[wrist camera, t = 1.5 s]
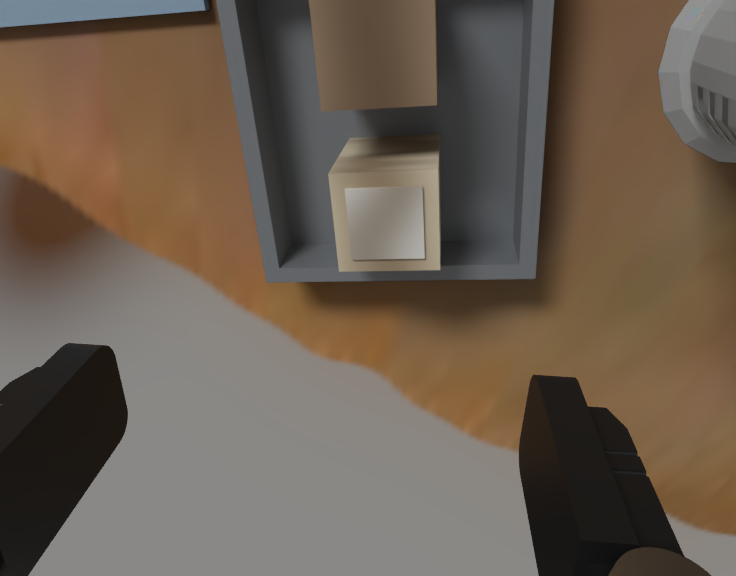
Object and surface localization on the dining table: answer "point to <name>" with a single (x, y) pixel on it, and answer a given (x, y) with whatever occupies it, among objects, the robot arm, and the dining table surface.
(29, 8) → the placing board
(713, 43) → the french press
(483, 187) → the parts bin
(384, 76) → the walnut block
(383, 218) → the beige box with label
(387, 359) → the dining table surface
